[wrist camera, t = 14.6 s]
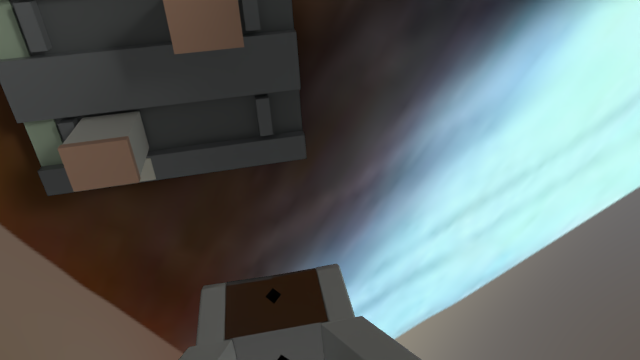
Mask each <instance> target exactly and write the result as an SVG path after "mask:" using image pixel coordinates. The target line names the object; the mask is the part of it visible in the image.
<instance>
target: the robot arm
mask: <svg viewBox="0 0 640 360" xmlns="http://www.w3.org/2000/svg"><path fill="white" fill-rule="evenodd" d="M179 360H421V359H420V358H419V357H417V356H416V355H414V354H413V353H412V352H410V351H409V350H408V349H406V348H405V347H403V346H402V345H401V344H399V343H398V342H397V341H395V340H394V339H393V338H391V337H390V336H388V335H387V334H386V333H384V332H383V331H382V330H380V329H379V328H378V327H376V326H375V325H373V324H372V323H371V322H369V321H368V320H367V319H365V318H364V317H363V316H360V317H355V315H354V312H353V308H352V305H351V302H350V299H349V296H348V292H347V289H346V286H345V283H344V280H343V276H342V273H341V270H340V267H339V265H338V264H333V265H327V266H322V267H316V268H313V269H307V270H302V271H296V272H290V273H284V274H278V275H273V276H266V277H259V278H252V279H245V280H238V281H231V282H227V283H220V284H213V285H206V286H203V288H202V290H201V298H200V308H199V319H198V329H197V340H196V346H193V347H189V348H188V349H187V350H186V351H185V352H184V354H183V355H182V356H181V357H180V359H179Z"/></svg>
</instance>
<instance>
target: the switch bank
mask: <svg viewBox="0 0 640 360" xmlns="http://www.w3.org/2000/svg"><path fill="white" fill-rule="evenodd" d="M238 5H239V12H240V20H241V27H242V34H243V41H244V47H240V48H231V49H221V50H211V51H202V52H192V53H183V54H174V50H173V45H172V40H171V36H170V31H169V27H168V22H167V17H166V13H165V8H164V4H163V0H0V83H1V86H2V88H3V90H4V93H5V95H6V98H7V100H8V102H9V105H10V107H11V109H12V112H13V114H14V117H15V119H16V121H17V123H24V125H25V128H26V130H27V133H28V135H29V138H30V140H31V142H32V145H33V147H34V150H35V152H36V155H37V157H38V159H39V162H40V164H41V168H40V169H39V170H38V174H39V176H40V179H41V181H42V183H43V186H44V188H45V191H46V193H47V195H48V196H51V195H58V194H64V193H71V192H74V191H73V188H72V186H71V183H70V181H69V178H68V175H67V173H66V170H65V168H64V165H63V162H62V160H61V157H60V155H59V152H58V149H57V148H58V147H59V146H60V145H62V144H63V143H64V141H65V140H66V139H67V137H68V136H69V135H70V133H71V132H72V131H73V129H74V128H75V127H76V125H77V124H78V123H79V121H80V120H81V119H82V118H85V117H94V116H102V115H110V114H118V113H127V112H135V111H139V112H140V115H141V119H142V123H143V126H144V130H145V134H146V137H147V141H148V145H149V150H148V154H147V157H146V160H145V163H144V166H143V169H142V172H141V175H140V178H141V179H140V182H139V183H141V182H147V181H154V180H161V179H168V178H175V177H182V176H189V175H196V174H203V173H210V172H217V171H224V170H231V169H237V168H244V167H251V166H258V165H265V164H272V163H279V162H286V161H293V160H300V159H307V158H306V145H305V135H304V133H303V130H302V118H301V106H300V94H299V89H301V85H300V73H299V61H298V49H297V36H296V31H295V30H294V23H293V12H292V0H238ZM132 184H134V183H132ZM125 185H127V184H125ZM119 186H120V185H119ZM112 187H113V186H112ZM105 188H106V187H105ZM98 189H99V188H98ZM91 190H92V189H91ZM84 191H85V190H84ZM77 192H78V191H77Z"/></svg>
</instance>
